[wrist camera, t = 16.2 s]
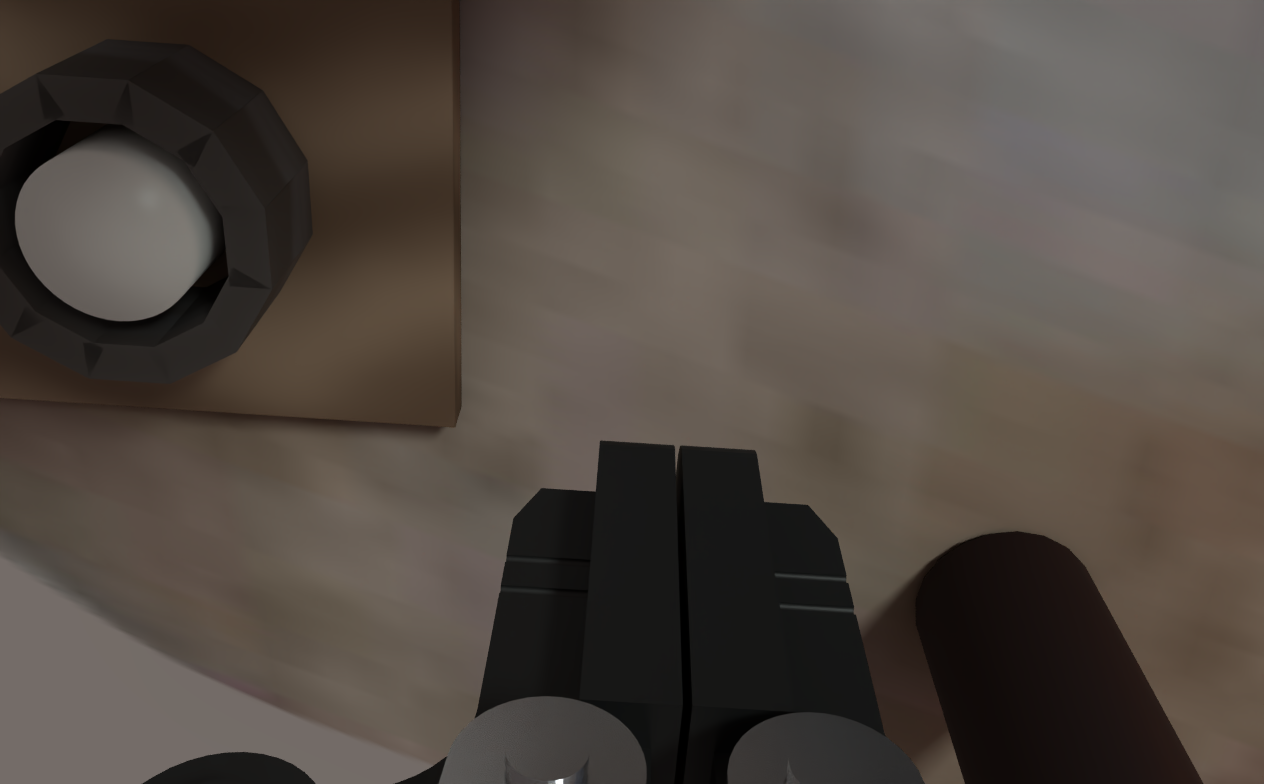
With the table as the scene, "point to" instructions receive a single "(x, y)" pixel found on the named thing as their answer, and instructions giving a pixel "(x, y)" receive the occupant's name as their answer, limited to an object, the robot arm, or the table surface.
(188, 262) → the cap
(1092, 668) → the bottle
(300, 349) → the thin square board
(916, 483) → the table surface
